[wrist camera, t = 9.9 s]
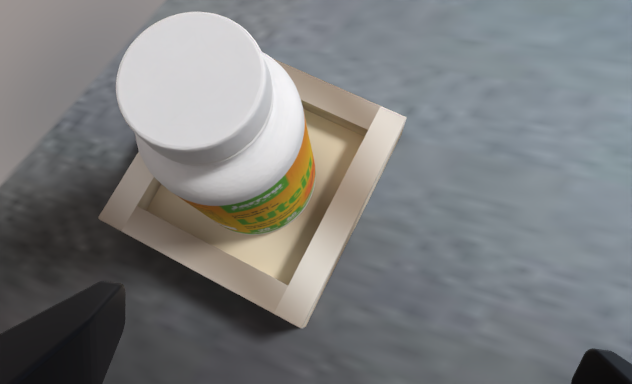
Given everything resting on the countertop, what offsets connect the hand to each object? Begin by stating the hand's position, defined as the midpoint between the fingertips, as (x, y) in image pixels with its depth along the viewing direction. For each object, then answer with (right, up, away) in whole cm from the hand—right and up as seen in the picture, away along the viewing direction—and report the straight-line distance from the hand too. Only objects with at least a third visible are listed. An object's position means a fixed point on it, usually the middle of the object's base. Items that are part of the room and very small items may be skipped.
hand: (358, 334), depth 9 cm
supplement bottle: (-3, +3, +13) cm, 14 cm away
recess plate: (-3, +3, +14) cm, 14 cm away
